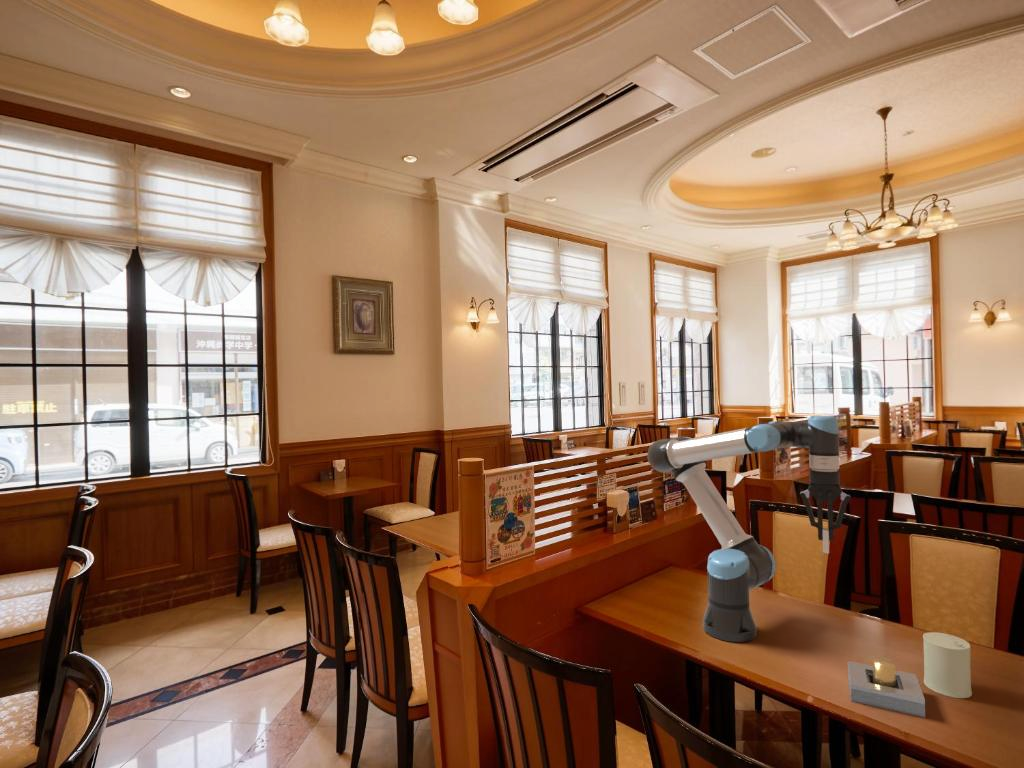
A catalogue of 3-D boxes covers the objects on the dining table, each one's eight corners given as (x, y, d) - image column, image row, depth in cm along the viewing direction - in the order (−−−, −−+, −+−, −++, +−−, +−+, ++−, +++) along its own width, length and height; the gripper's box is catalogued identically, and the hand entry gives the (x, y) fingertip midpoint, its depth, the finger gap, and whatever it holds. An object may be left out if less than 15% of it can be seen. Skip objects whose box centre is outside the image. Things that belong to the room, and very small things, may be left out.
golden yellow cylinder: (874, 698, 128) (874, 664, 128) (872, 689, 132) (871, 656, 132) (897, 703, 126) (896, 668, 126) (894, 693, 130) (893, 660, 130)
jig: (851, 701, 127) (850, 684, 127) (848, 676, 138) (847, 661, 138) (925, 717, 121) (924, 699, 121) (916, 690, 131) (915, 674, 131)
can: (957, 702, 126) (956, 650, 126) (915, 682, 135) (914, 634, 135) (980, 692, 130) (979, 642, 130) (937, 674, 138) (936, 627, 138)
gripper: (798, 470, 156) (800, 552, 156) (851, 472, 149) (853, 558, 149) (798, 466, 162) (800, 545, 162) (850, 469, 156) (851, 551, 156)
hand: (825, 551), depth 156 cm, fingers closed
